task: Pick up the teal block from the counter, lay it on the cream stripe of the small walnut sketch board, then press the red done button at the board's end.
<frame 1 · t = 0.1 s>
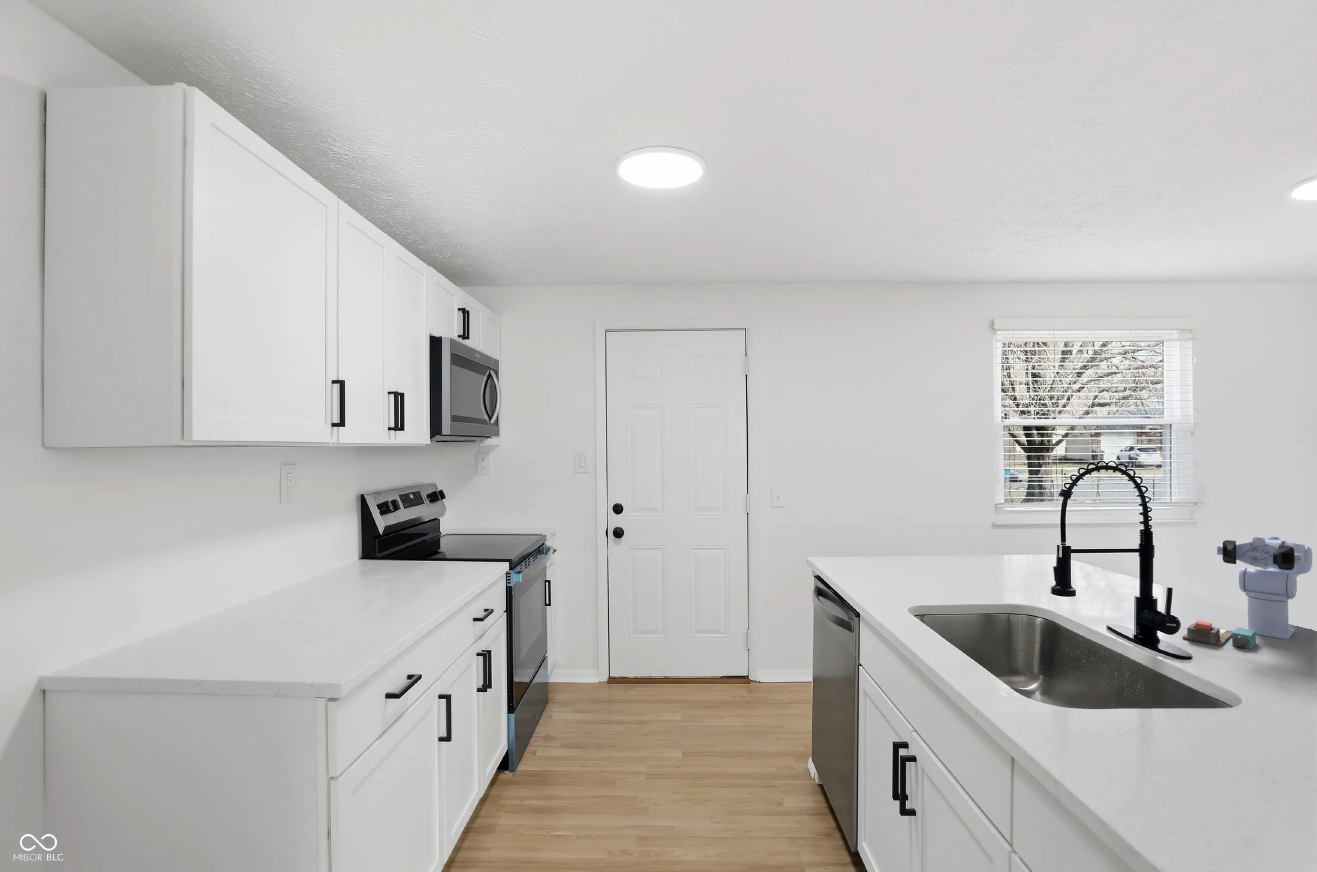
hand: (1251, 556, 142), 21 cm above the worktop, tool horizontal, fingers open, 7 cm apart
done button: (1203, 627, 148), point 3 cm above the worktop, slide at 0.0 cm
sketch board: (1208, 636, 151), on the worktop
teal block: (1244, 644, 146), on the worktop
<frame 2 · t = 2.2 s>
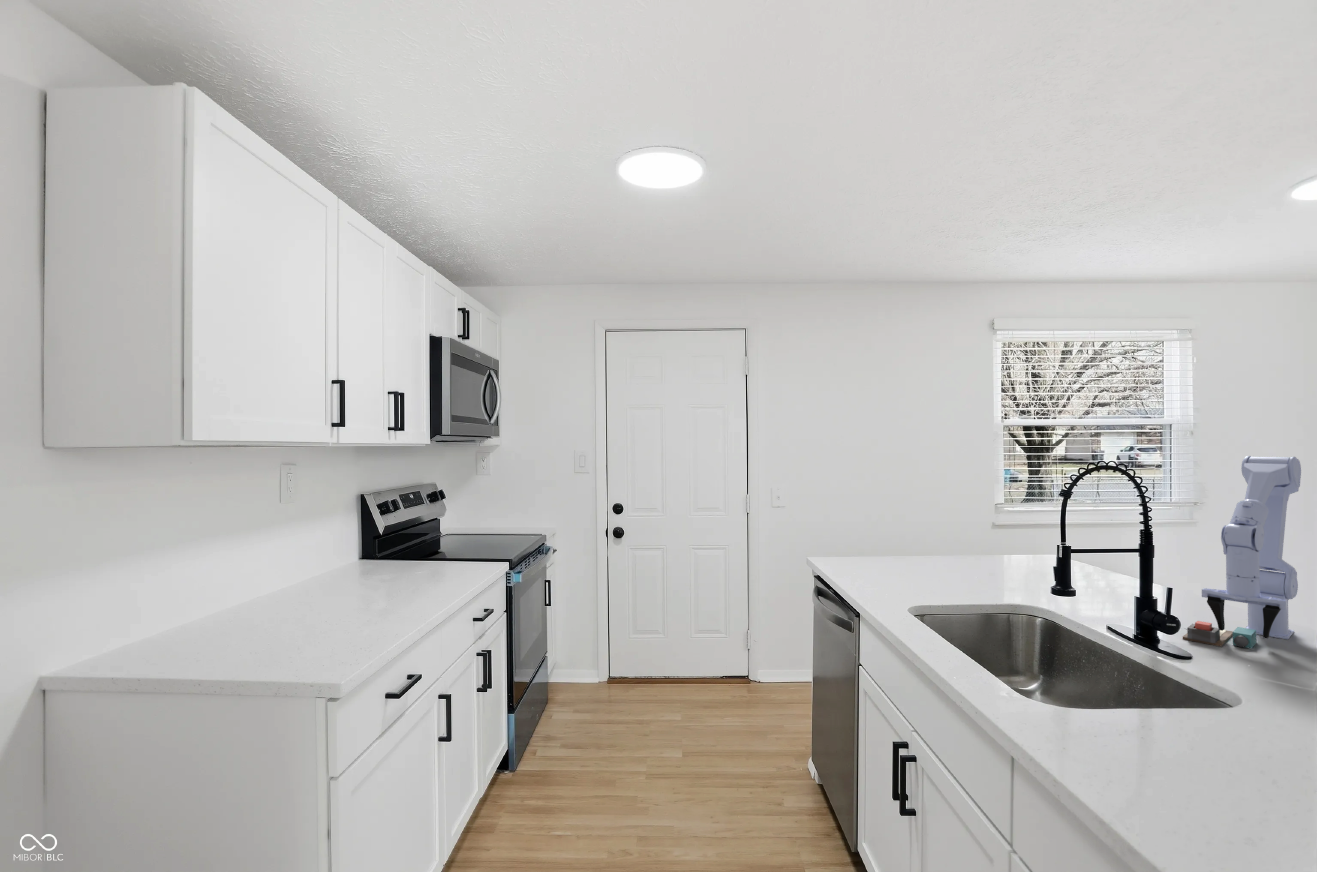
hand: (1243, 633, 145), 3 cm above the worktop, tool pointing down, fingers open, 7 cm apart
nothing on the worktop moved.
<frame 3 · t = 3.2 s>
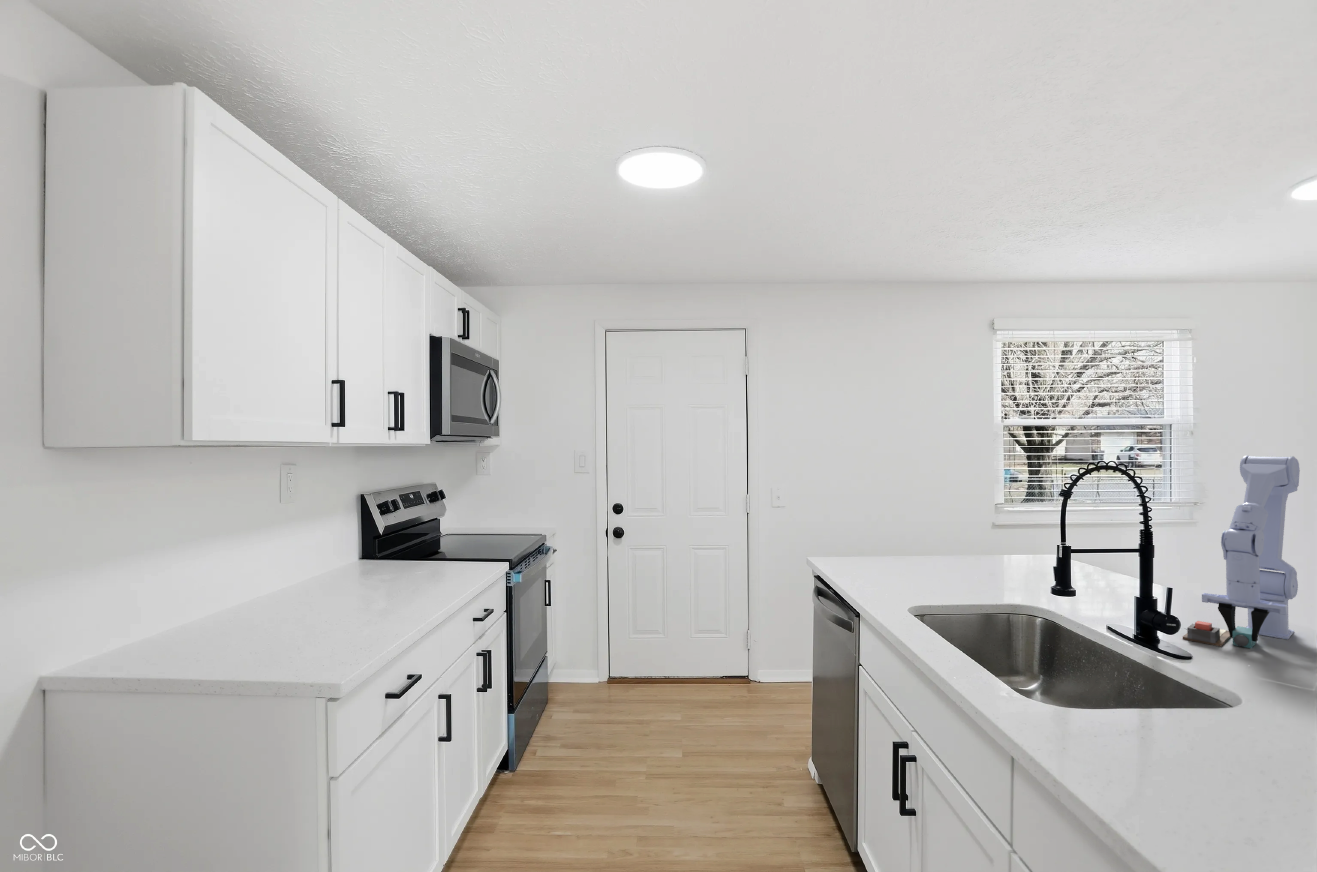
hand: (1243, 638, 145), 1 cm above the worktop, tool pointing down, fingers closed on teal block, 3 cm apart
teal block: (1244, 643, 146), on the worktop, touching gripper
everything else where it was.
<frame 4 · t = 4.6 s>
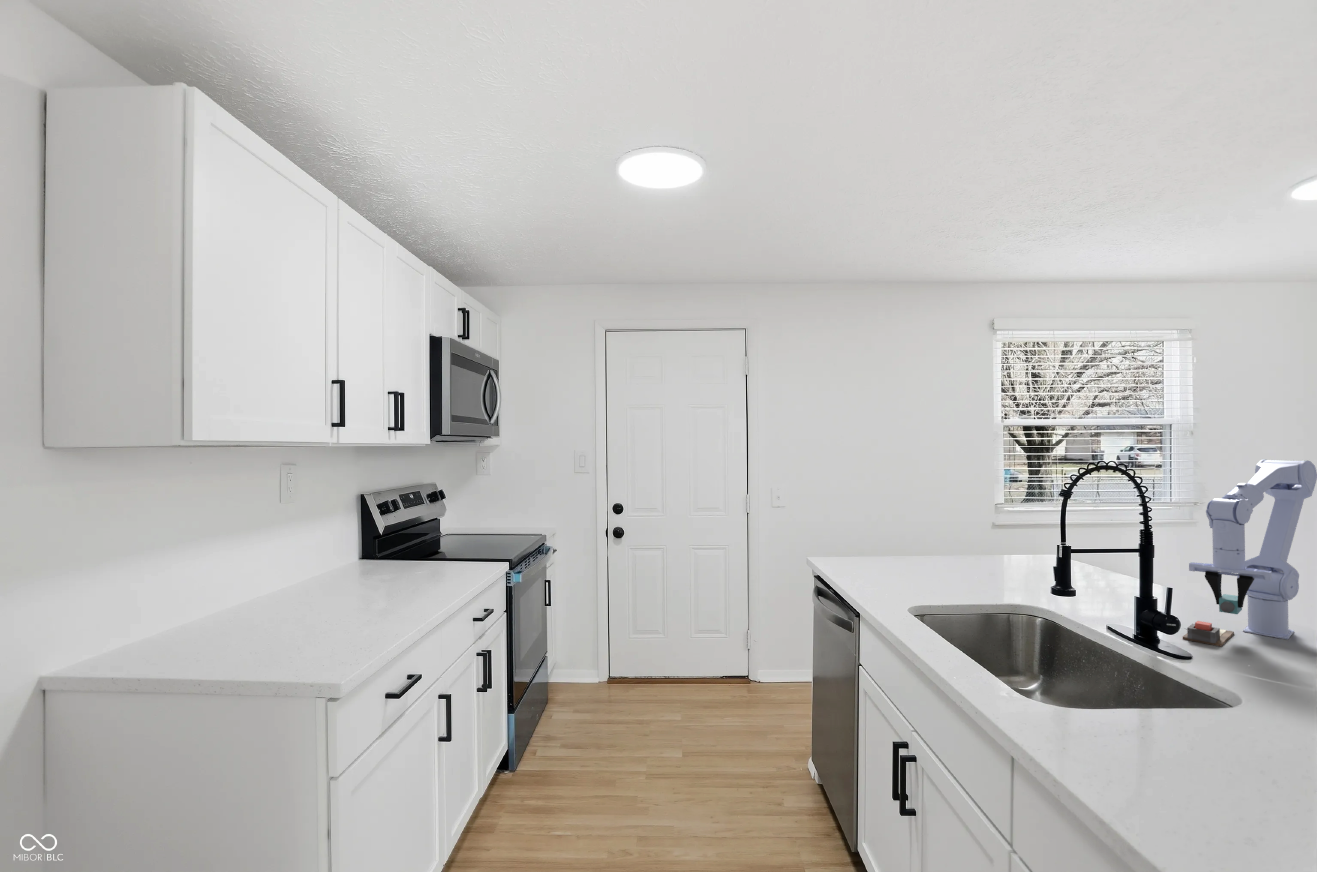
hand: (1229, 605, 149), 8 cm above the worktop, tool pointing down, fingers closed on teal block, 3 cm apart
teal block: (1230, 610, 149), point 7 cm above the worktop, touching gripper
everything else where it was.
when the fingers open (3 cm above the worktop, at t = 6.2 s): teal block drops 1 cm, resting on sketch board.
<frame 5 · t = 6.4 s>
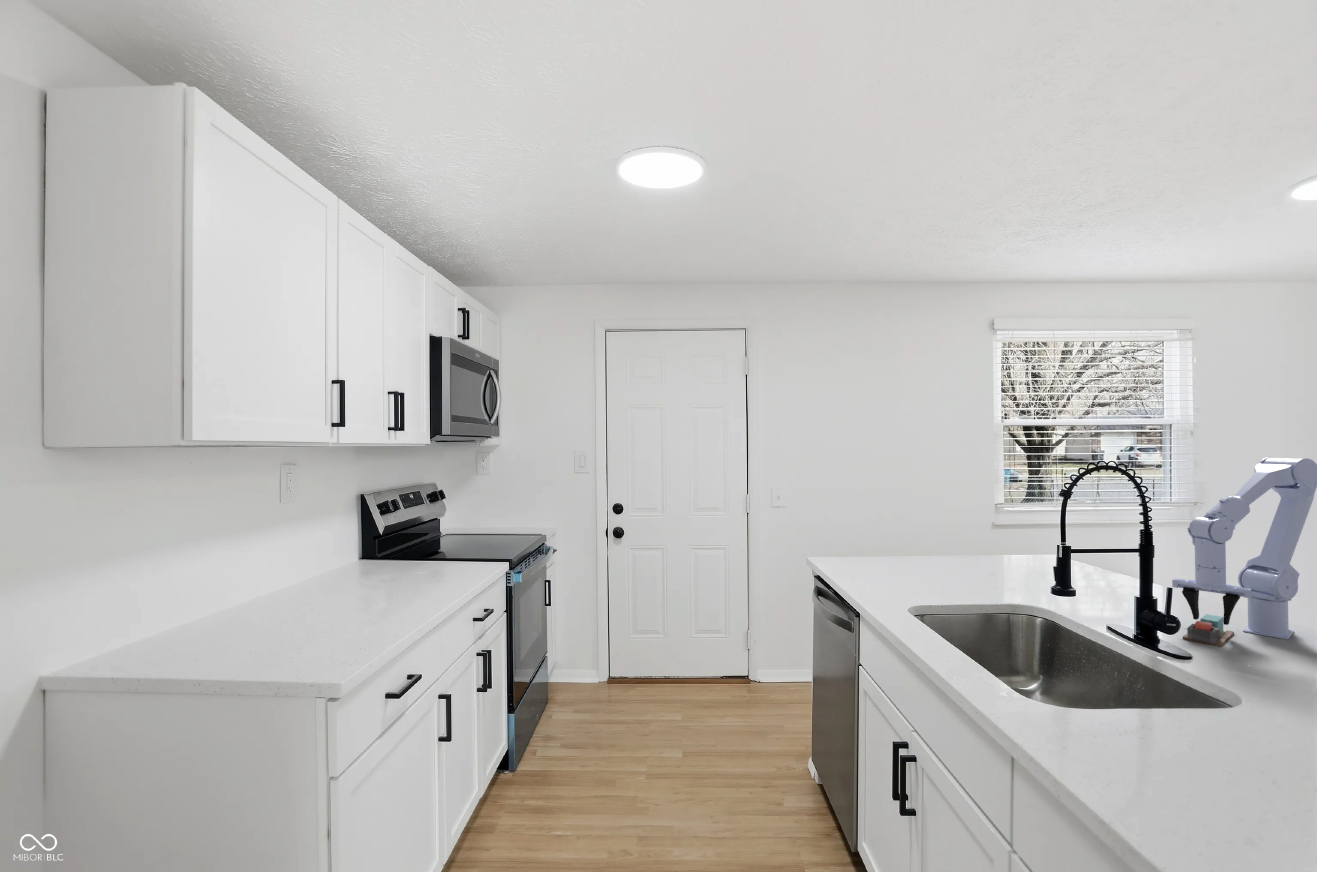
hand: (1211, 621, 153), 3 cm above the worktop, tool pointing down, fingers open, 5 cm apart
teal block: (1212, 630, 154), point 1 cm above the worktop, touching sketch board
everything else where it was.
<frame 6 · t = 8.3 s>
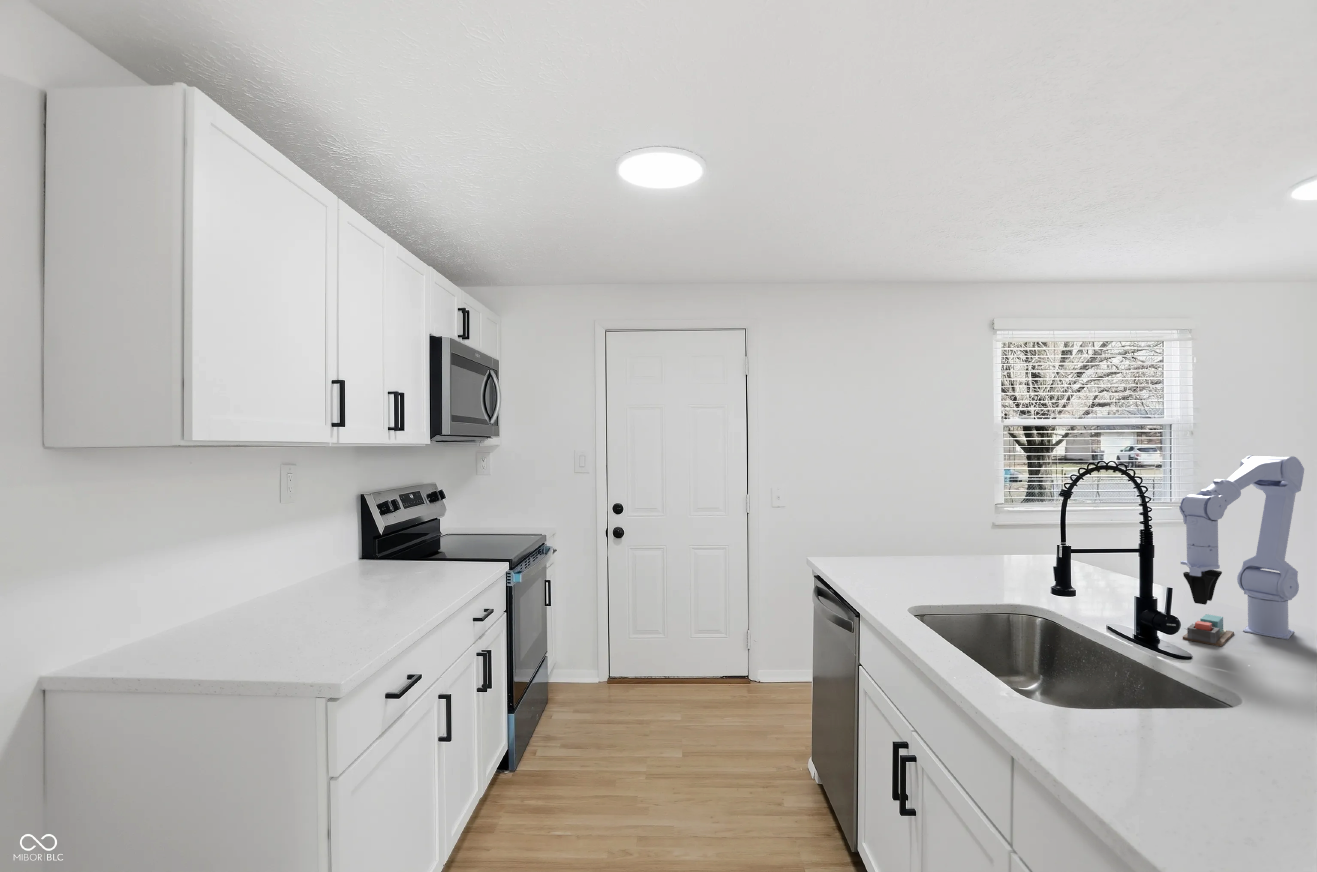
hand: (1203, 601, 148), 9 cm above the worktop, tool pointing down, fingers open, 4 cm apart
nothing on the worktop moved.
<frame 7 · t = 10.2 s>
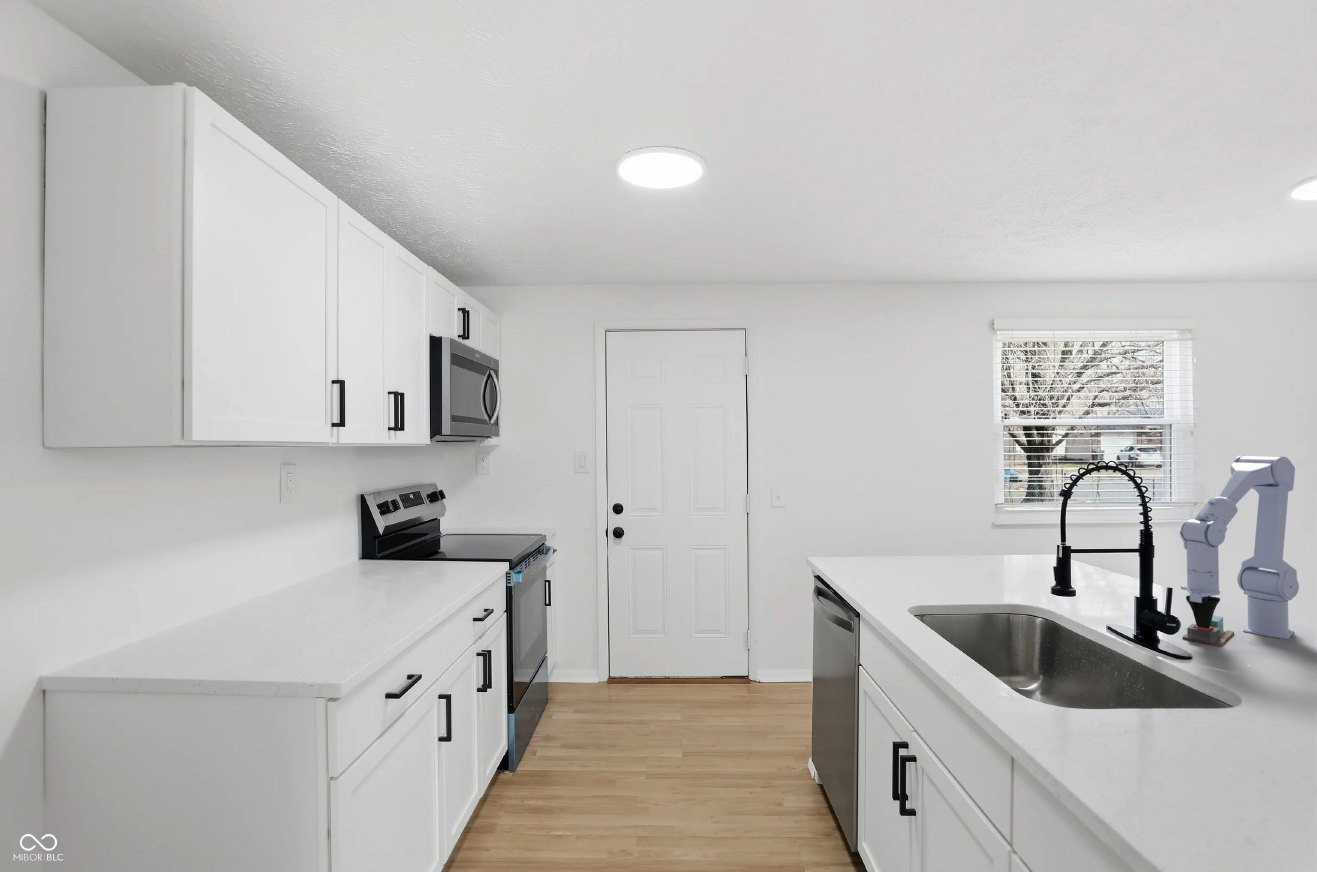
hand: (1203, 627, 148), 3 cm above the worktop, tool pointing down, fingers closed, pressing on done button
done button: (1203, 631, 148), point 2 cm above the worktop, slide at 0.9 cm, touching gripper
everything else where it was.
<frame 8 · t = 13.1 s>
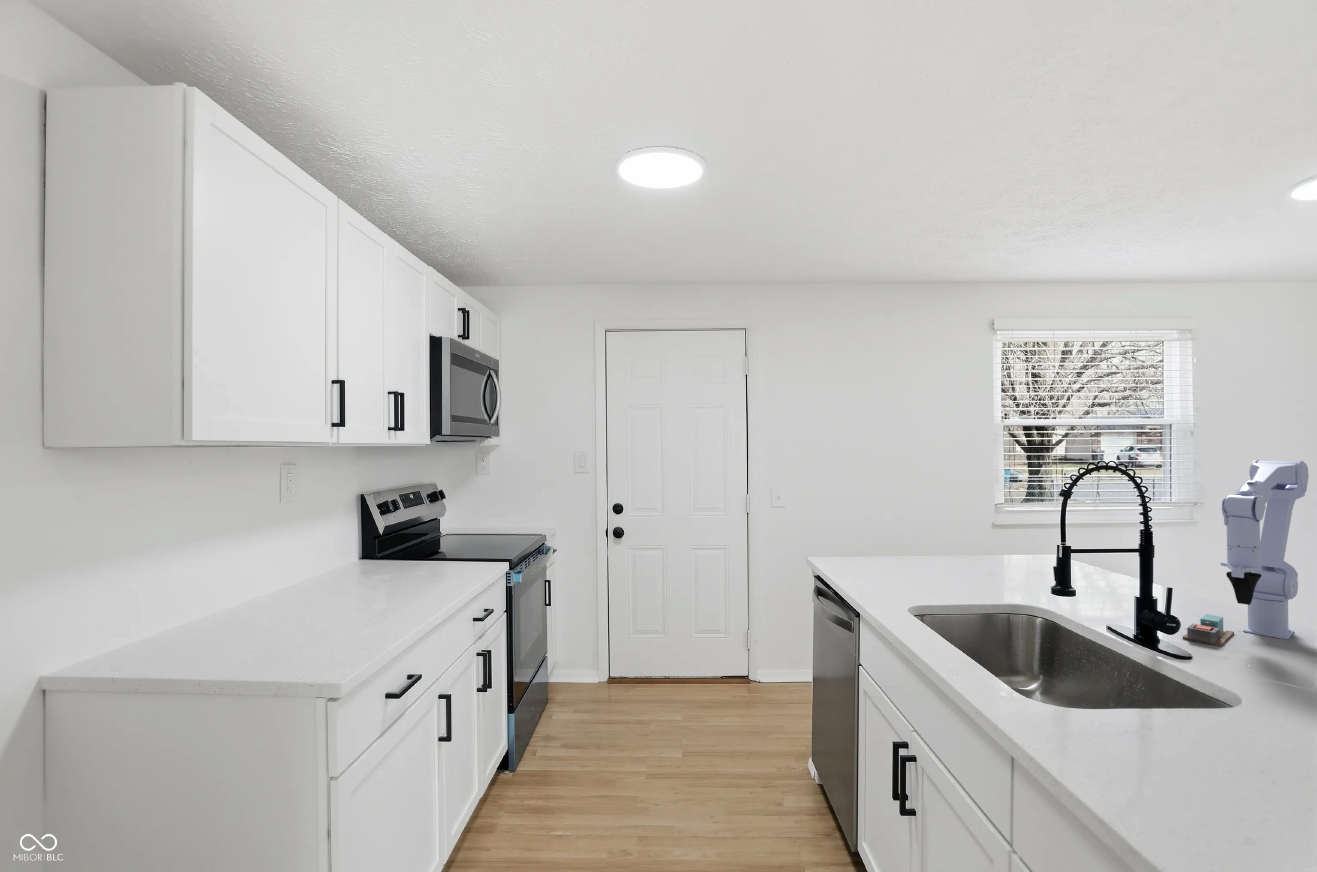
hand: (1244, 603, 146), 9 cm above the worktop, tool pointing down, fingers closed
done button: (1203, 632, 148), point 2 cm above the worktop, slide at 1.0 cm
everything else where it was.
at the end: teal block 0.6 cm from the target spot, point 0.7 cm above the worktop; done button slide at 1.0 cm; the gripper is holding nothing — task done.
